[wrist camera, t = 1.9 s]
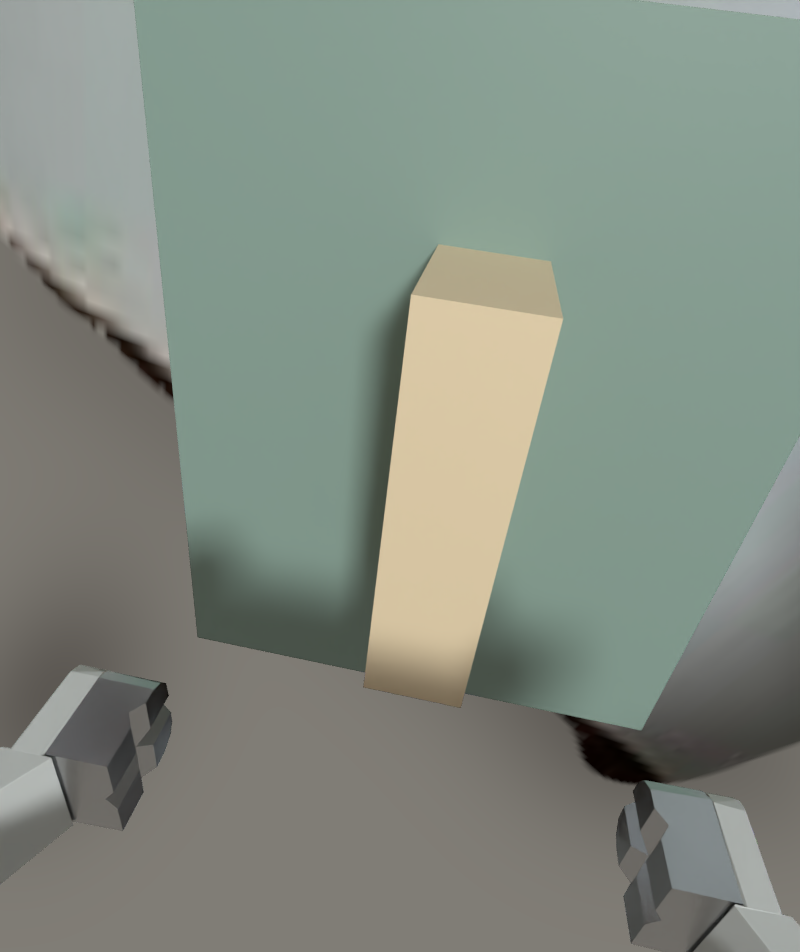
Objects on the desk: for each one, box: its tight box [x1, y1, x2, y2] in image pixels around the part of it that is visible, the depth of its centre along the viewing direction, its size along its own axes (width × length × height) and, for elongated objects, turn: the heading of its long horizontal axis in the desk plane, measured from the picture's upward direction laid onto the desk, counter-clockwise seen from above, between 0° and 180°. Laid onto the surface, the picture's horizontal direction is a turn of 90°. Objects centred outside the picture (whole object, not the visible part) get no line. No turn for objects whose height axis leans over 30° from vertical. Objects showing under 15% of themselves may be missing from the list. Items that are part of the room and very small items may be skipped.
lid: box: [134, 0, 800, 730], centre depth 18 cm, size 19×23×6 cm
